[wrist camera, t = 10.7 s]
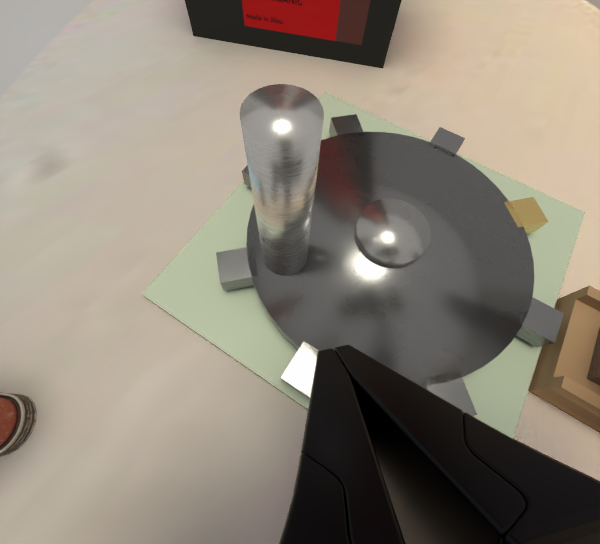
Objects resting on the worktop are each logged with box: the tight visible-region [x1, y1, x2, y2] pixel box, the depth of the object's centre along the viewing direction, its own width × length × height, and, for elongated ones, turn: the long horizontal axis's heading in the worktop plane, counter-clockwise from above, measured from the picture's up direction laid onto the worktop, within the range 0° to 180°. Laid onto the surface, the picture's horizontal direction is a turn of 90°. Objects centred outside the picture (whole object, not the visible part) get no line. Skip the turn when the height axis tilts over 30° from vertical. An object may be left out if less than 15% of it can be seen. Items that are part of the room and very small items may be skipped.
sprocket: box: [216, 84, 564, 416], centre depth 15 cm, size 19×19×10 cm
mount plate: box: [142, 92, 585, 438], centre depth 20 cm, size 20×20×1 cm
